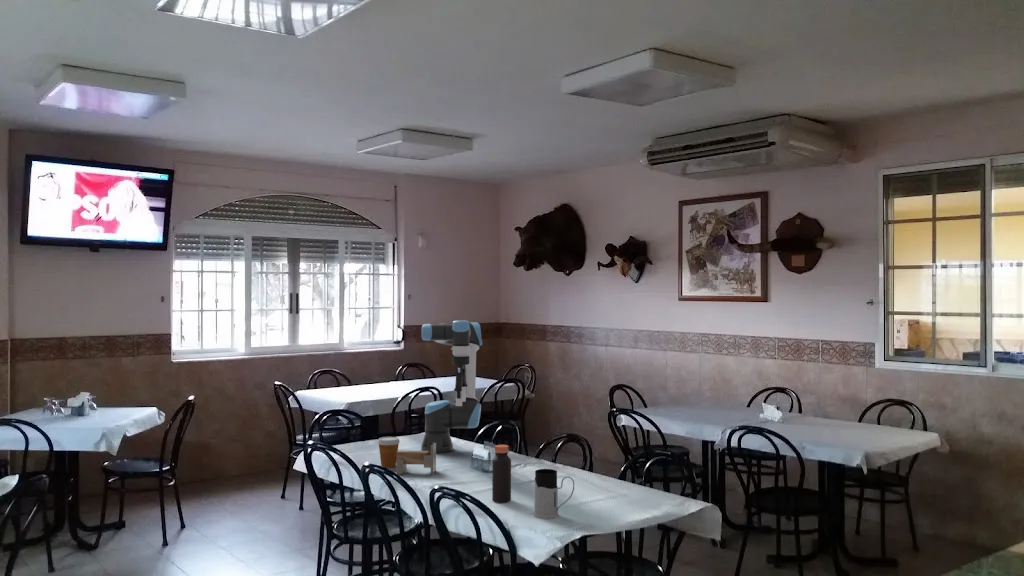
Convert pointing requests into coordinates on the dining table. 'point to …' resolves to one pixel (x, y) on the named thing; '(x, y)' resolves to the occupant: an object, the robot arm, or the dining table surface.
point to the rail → (412, 456)
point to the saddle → (400, 466)
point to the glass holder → (547, 494)
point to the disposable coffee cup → (388, 451)
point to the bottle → (501, 475)
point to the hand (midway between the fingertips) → (460, 403)
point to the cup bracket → (431, 459)
